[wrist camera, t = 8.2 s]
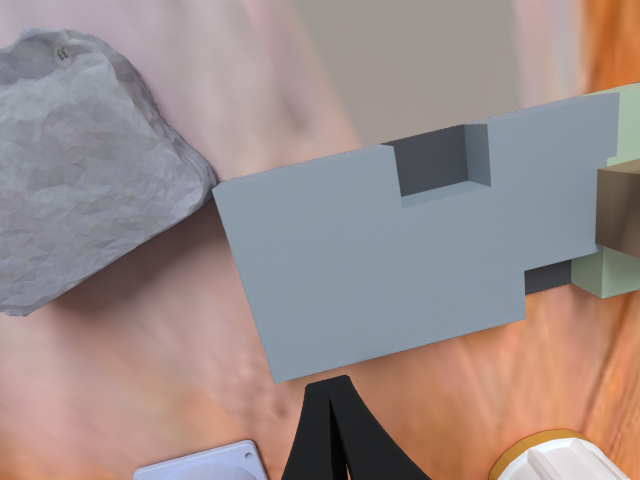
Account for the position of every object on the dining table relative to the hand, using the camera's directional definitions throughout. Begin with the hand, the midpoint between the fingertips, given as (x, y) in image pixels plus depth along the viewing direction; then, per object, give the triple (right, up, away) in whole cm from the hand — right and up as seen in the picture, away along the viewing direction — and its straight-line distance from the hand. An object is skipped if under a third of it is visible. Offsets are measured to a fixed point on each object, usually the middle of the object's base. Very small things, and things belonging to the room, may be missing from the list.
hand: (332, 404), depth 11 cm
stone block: (-13, +9, +7) cm, 17 cm away
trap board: (+6, +6, +9) cm, 13 cm away
